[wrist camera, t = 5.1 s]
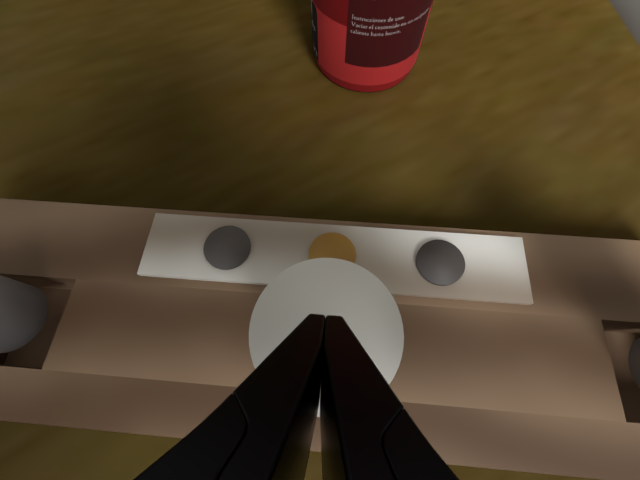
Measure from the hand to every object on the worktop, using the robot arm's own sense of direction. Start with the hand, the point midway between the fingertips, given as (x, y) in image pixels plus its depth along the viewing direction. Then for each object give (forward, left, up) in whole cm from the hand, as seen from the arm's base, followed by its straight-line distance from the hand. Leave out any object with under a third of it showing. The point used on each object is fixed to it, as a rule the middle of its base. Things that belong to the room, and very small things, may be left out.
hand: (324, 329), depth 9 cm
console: (0, 0, -9) cm, 9 cm away
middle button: (0, 0, -9) cm, 9 cm away
